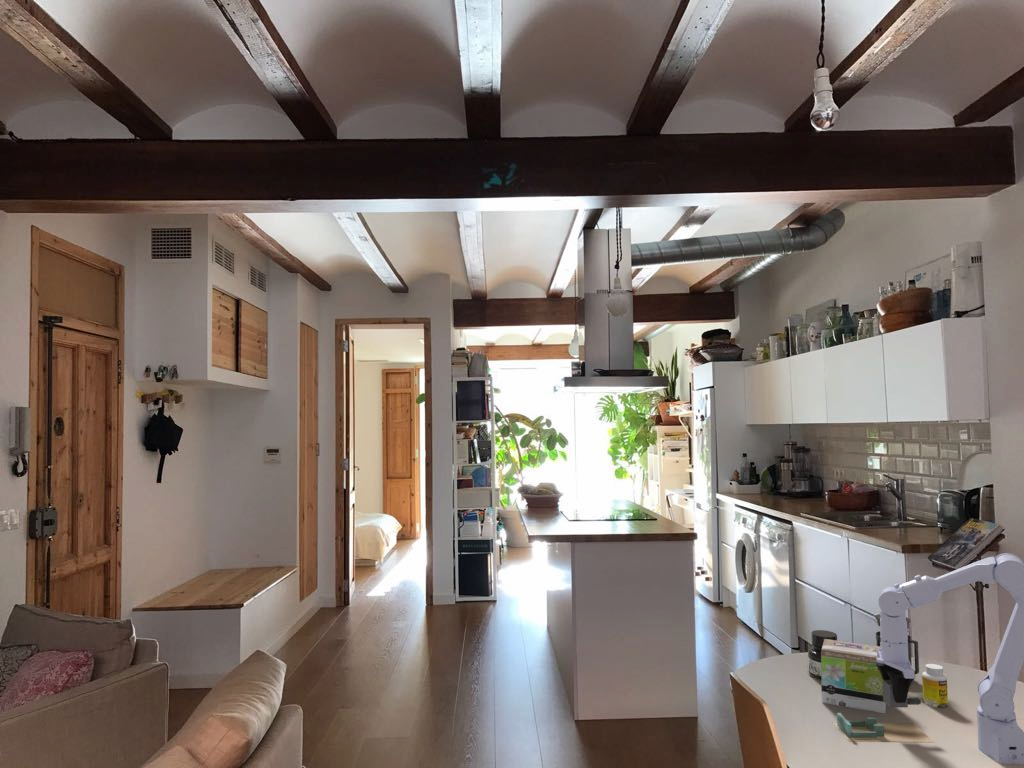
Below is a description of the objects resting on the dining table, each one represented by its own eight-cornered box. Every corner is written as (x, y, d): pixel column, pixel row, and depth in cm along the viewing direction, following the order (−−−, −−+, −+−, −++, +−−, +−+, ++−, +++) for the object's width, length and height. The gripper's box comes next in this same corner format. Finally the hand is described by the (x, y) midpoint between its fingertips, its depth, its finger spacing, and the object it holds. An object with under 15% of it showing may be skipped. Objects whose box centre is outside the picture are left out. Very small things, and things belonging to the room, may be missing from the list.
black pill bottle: (801, 670, 212) (800, 629, 212) (828, 668, 214) (827, 627, 214) (821, 683, 202) (820, 640, 203) (849, 680, 204) (848, 637, 204)
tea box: (821, 706, 187) (819, 648, 188) (824, 692, 196) (823, 637, 196) (886, 717, 180) (884, 657, 181) (886, 702, 189) (885, 645, 189)
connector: (924, 707, 168) (923, 685, 168) (890, 707, 168) (889, 685, 169) (916, 701, 172) (916, 680, 172) (883, 701, 172) (882, 679, 172)
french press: (867, 676, 207) (865, 595, 208) (883, 669, 212) (881, 590, 213) (910, 689, 197) (907, 604, 198) (925, 680, 203) (923, 598, 204)
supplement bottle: (941, 712, 182) (939, 671, 182) (918, 705, 187) (917, 665, 187) (952, 707, 185) (950, 667, 185) (929, 700, 190) (928, 660, 190)
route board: (934, 745, 165) (934, 728, 165) (849, 744, 166) (848, 727, 166) (912, 726, 175) (912, 710, 175) (832, 725, 176) (831, 709, 176)
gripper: (863, 630, 178) (865, 686, 178) (891, 650, 164) (893, 711, 163) (892, 630, 178) (894, 686, 177) (923, 650, 163) (925, 711, 163)
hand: (896, 698), depth 170 cm, fingers closed on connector, 4 cm apart
